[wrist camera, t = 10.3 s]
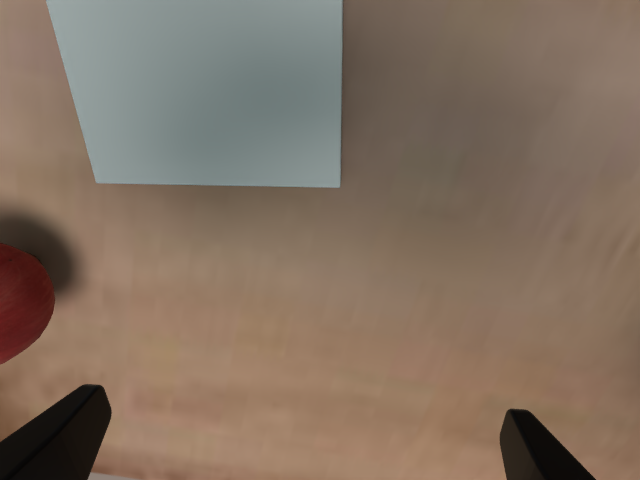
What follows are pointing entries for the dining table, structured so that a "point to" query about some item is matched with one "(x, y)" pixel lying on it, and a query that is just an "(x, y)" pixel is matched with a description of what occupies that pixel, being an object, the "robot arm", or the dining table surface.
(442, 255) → the dining table surface
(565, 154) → the dining table surface
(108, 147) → the dock
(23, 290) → the onion
